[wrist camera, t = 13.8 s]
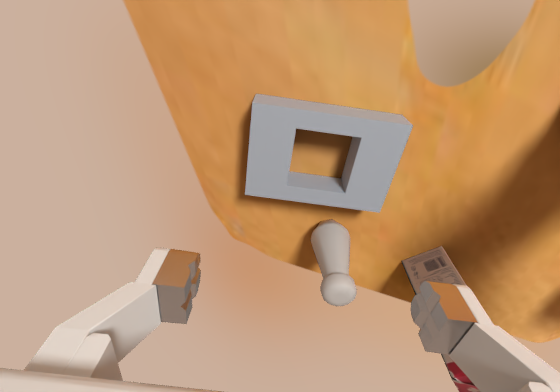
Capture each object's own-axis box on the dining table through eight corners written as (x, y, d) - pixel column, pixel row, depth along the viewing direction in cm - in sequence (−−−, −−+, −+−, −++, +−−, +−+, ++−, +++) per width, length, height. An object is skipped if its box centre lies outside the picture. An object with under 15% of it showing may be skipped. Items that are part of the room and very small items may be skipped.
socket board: (401, 114, 36) (413, 125, 33) (372, 196, 43) (379, 212, 39) (256, 93, 36) (252, 102, 32) (248, 179, 42) (244, 194, 39)
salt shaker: (305, 219, 46) (309, 286, 35) (342, 210, 44) (358, 276, 33) (315, 247, 48) (322, 317, 37) (350, 239, 47) (368, 308, 36)
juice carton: (441, 245, 47) (537, 399, 29) (453, 271, 50) (547, 426, 32) (401, 261, 49) (466, 413, 31) (414, 285, 52) (481, 437, 34)
